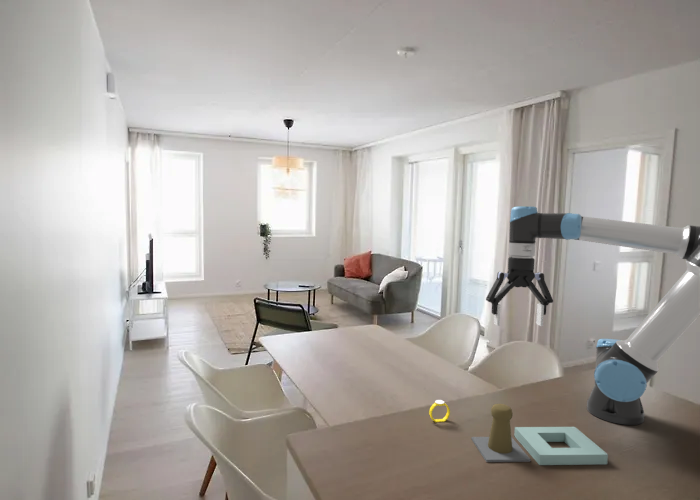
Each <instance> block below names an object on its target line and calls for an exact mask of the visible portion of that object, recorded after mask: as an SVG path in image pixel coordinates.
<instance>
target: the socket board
mask: <svg viewBox="0 0 700 500" xmlns="http://www.w3.org/2000/svg"><path fill="white" fill-rule="evenodd" d="M514 437H515V438H516V441H518V442H519V444H520V445H522V446H523V448H524V449H525V450H526V451H527V452H528V454H529V455H530V456H531V458H532V459H534V461H535V462H536V463H537V464H538V465H539V466H568V465H569V466H574V465H575V466H577V465H580V466H581V465H582V466H583V465H586V466H587V465H590V466H591V465H608V458H609V454H608V453H607V452H606V451H604V450H603V449H602V447H599V445H597V444H596V443H595V442H594V441H592V439H590V438H589V437H588V436H587V435H585V434H584V433H583V432H582V431H581V430H579V428H577V427H576V426H514ZM548 442H549V443H550V442H551V443H554V442H555V443H556V442H557V443H558V442H559V443H560V442H561V443H562V442H564V443H565V444H566V445H567V446H568V447H552V446H551V445H550V444H549V443H548Z"/></svg>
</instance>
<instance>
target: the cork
mask: <svg viewBox="0 0 700 500" xmlns="http://www.w3.org/2000/svg"><path fill="white" fill-rule="evenodd" d="M491 406H492V407H491V408H490V414H491V417H492V420H491V427H490V431H489V436H488V437H489V441H488V447H489V448H490V449H491V450H493V451H495V452H498V453H510V452H512V450H513V449H512V438H513V437H512V429H511V420H512V418H513V408H511V407H510V406H509V405H507V404H505V403H495V404H493V405H491ZM511 437H512V438H511Z"/></svg>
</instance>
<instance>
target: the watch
mask: <svg viewBox="0 0 700 500" xmlns="http://www.w3.org/2000/svg"><path fill="white" fill-rule="evenodd" d="M437 406H439V407H443V406H445V407H446V414H445V416H444V417H443V418H436V419H435V418H434V416H433V411H434V409H435V408H436V407H437ZM428 414H429V416H430V419H431V421H433V422H434V423H445V422H446V421H447V420H448V419H449V418H450V415H451V409H450V407H449V405H448V404H447V403H446V402H445V401H444V400H442V399H436V400H435V401H434V403H432V405H431V406H430V408H429V411H428Z"/></svg>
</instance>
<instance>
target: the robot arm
mask: <svg viewBox="0 0 700 500" xmlns="http://www.w3.org/2000/svg"><path fill="white" fill-rule="evenodd" d="M508 237H509V242H508V255H509V257H508V259H507V272H503V271H498V272H497V275H496V278H495V281H494V283H493V285H491V288H490V290H489V292H488V294H487V295H486V297H485V301H487V302H488V303H491V314H492V315H493V324H494V325H495V326H497V327H500V326H501V325H500V324H501V307H502V306H501V304H499V303H500V302H501V301H502V300H503V299H504V298H505V296H506V295H507V294H508V293H509V291H511V290H512V289H513V288H528V289H529V290H530V292H531V293H532V295H534V297H535V298H536V299H537V301H538V302H539V303H537V304H536V321H535V323H536V325H538V326H540V327H543V326H544V316H546V314H547V307H548V306H549V305H550V304H552V303H554V299H553V297H552V295H551V292H550V290H549V288H548V285H547V282H546V281H545V274H544V273H542V272H539V271H538V272H536V273H535V272H534V271H535V264H536V263H535V261H536V260H535V258H534V257H535V256H536V239H551V240H552V239H553V240H565V241H569V240H575V241H582V242H589V243H590V242H591V243H595V244H602V245H603V244H604V245H610V246H616V247H617V246H618V247H623V248H629V249H637V250H644V251H651V252H658V253H664V254H672V255H676V256H677V257H678V258H679V259H681V260H685V264H686V271H685V272H684V273H683V274H682V275H681V276H680V277H679V278H678V280H677V281H676V282H675V283H674V284H673V286H672V287H671V288H670V289H669V290H668V291H667V292H666V294H665V295H664V296H663V297H662V298H661V299H660V300H659V302H658V303H657V304H656V305H655V306H654V307H653V309H652V310H651V311H650V312H649V313H648V314H647V316H646V317H645V318H643V320H642V321H641V322H640V324H639V325H637V327H636V328H634V330H633V331H632V333H631V334H630V335H629V336H628V338H626V339H623V340H621V339H615V338H600V339H598V340H597V343H596V355H595V356H596V357H595V370H594V372H593V378H594V385H593V388H592V390H591V392H590V395H589V396H588V397H589V398H587V401H586V409H587V412H589V413H590V415H592V416H595V417H596V418H598V419H600V420H604V421H606V422H610V423H613V424H618V425H626V426H627V425H628V426H635V425H636V426H638V425H642V424H644V422H645V410H644V407H643V404H642V400H641V397H642V396H643V395H644V393H645V391H646V390H647V389H646V388H647V386H648V385H647V384H648V383H649V382H650V381H651V379H652V378H653V377H655V375H656V374H657V373H658V372H659V371H660V368H659V361H660V359H661V358H663V356H664V355H665V354H666V353H667V352H668V351H669V350H670V349H671V348H672V346H673V345H674V344H675V343H676V342H677V341H678V340H679V338H681V336H683V334H684V333H685V332H686V331H687V330H688V329H689V328H690V327H691V326H692V324H694V322H695V321H697V319H698V318H699V317H700V225H691V224H688V225H686V226H684V227H676V226H667V225H661V224H660V225H659V224H658V225H657V224H648V223H641V222H633V221H625V220H617V219H616V220H615V219H609V218H608V219H607V218H598V217H591V216H583V215H581V214H580V213H573V212H572V213H571V212H566V213H565V212H562V213H561V212H560V213H558V212H556V213H555V212H553V213H551V212H550V213H549V212H547V213H542V212H539V211H538V207H536V206H531V205H530V206H521V205H520V206H519V205H518V206H513V207H512V208H511V211H510V219H509V236H508ZM506 278H507V279H508V280H507V281H506V283H505V284H504V285H503V287H502V288H501V286H502V284H503V282H504V281H505V280H506ZM534 279H535V280H536V282H537V284H538V287H539V288H540V290H541V291H539V289H538V288H537V287H536V285H535V283H534V282H533V281H534ZM500 288H501V289H500Z"/></svg>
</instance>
